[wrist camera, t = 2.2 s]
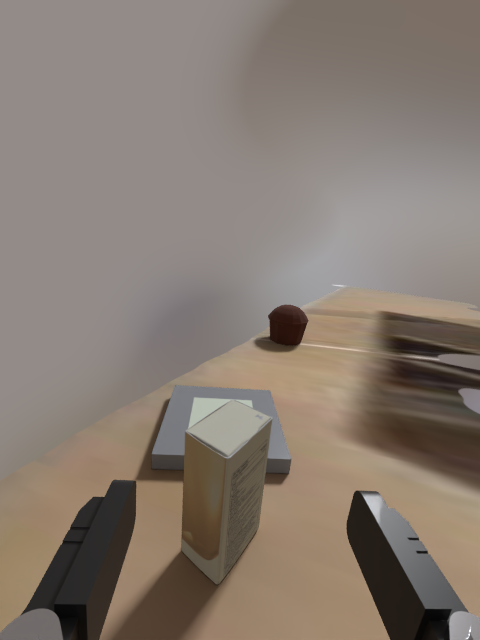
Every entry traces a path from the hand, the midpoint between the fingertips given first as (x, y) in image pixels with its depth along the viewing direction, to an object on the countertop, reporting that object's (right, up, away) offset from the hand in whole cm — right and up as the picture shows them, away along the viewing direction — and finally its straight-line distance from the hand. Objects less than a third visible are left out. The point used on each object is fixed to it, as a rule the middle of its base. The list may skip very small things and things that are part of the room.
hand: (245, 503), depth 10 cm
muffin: (+13, +1, +72) cm, 74 cm away
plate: (-3, -9, +31) cm, 32 cm away
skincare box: (-2, -13, +15) cm, 20 cm away
